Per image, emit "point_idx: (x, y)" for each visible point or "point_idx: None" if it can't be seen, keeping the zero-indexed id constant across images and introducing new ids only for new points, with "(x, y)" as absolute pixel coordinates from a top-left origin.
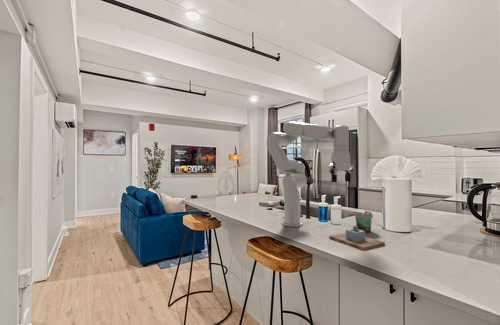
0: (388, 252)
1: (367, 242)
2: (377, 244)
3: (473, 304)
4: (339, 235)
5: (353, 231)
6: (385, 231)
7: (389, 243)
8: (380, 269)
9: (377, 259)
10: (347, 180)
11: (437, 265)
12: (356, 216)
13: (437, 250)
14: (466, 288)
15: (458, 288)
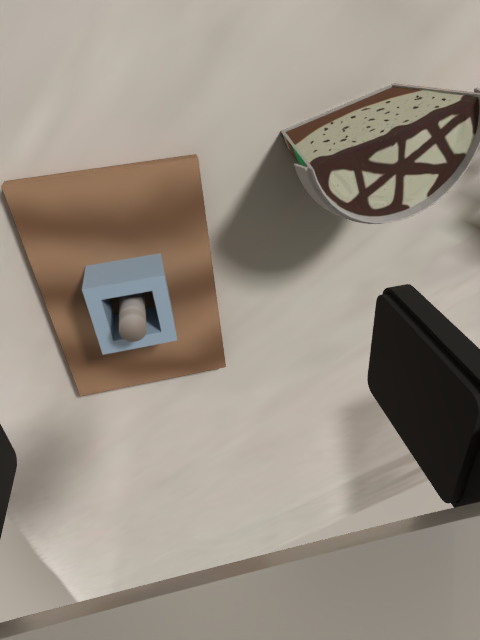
0: (163, 421)
1: (148, 351)
2: (175, 376)
3: None
4: (78, 206)
5: (105, 330)
6: None
7: (261, 348)
8: (19, 512)
9: (68, 461)
10: (376, 357)
11: (209, 509)
12: (303, 175)
13: (337, 435)
14: (144, 582)
15: (127, 582)
